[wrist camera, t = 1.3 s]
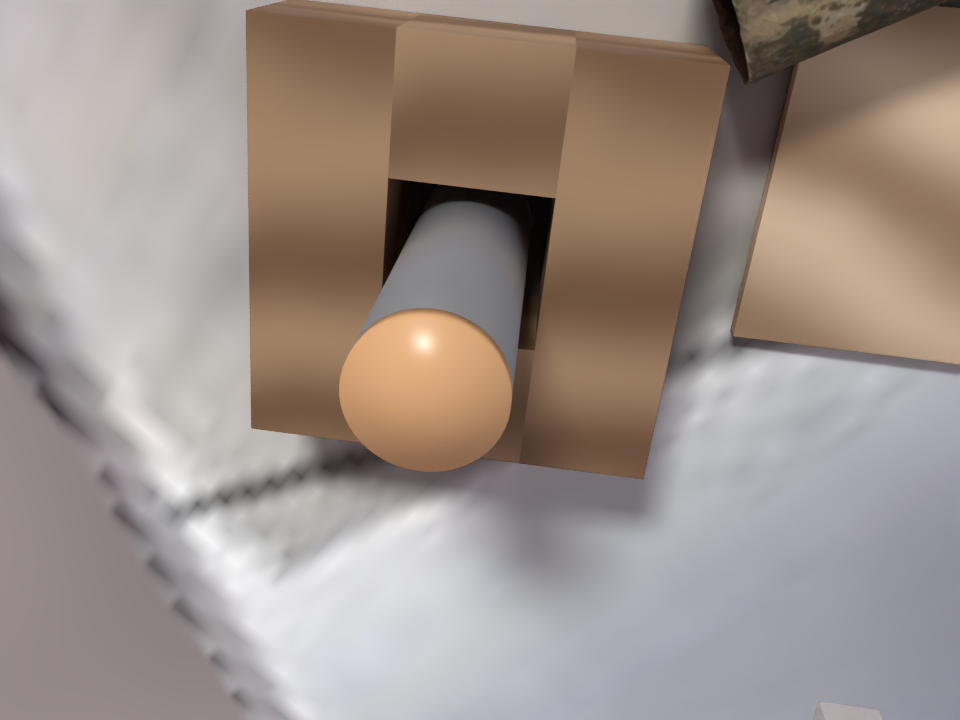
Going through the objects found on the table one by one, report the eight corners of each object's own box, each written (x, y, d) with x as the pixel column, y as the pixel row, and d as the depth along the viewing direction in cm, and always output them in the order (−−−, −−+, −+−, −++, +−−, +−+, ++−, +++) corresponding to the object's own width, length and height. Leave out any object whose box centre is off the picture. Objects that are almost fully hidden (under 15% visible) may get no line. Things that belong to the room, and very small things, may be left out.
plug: (428, 162, 33) (342, 307, 20) (538, 175, 32) (520, 330, 20) (420, 266, 34) (336, 460, 22) (524, 279, 34) (501, 481, 22)
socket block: (292, -2, 31) (246, 10, 26) (705, 45, 30) (730, 65, 26) (289, 367, 37) (251, 428, 32) (633, 411, 36) (643, 479, 32)
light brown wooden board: (811, -9, 29) (816, -8, 29) (1189, 33, 29) (1201, 35, 28) (730, 329, 34) (733, 336, 34) (1049, 369, 34) (1057, 376, 33)
